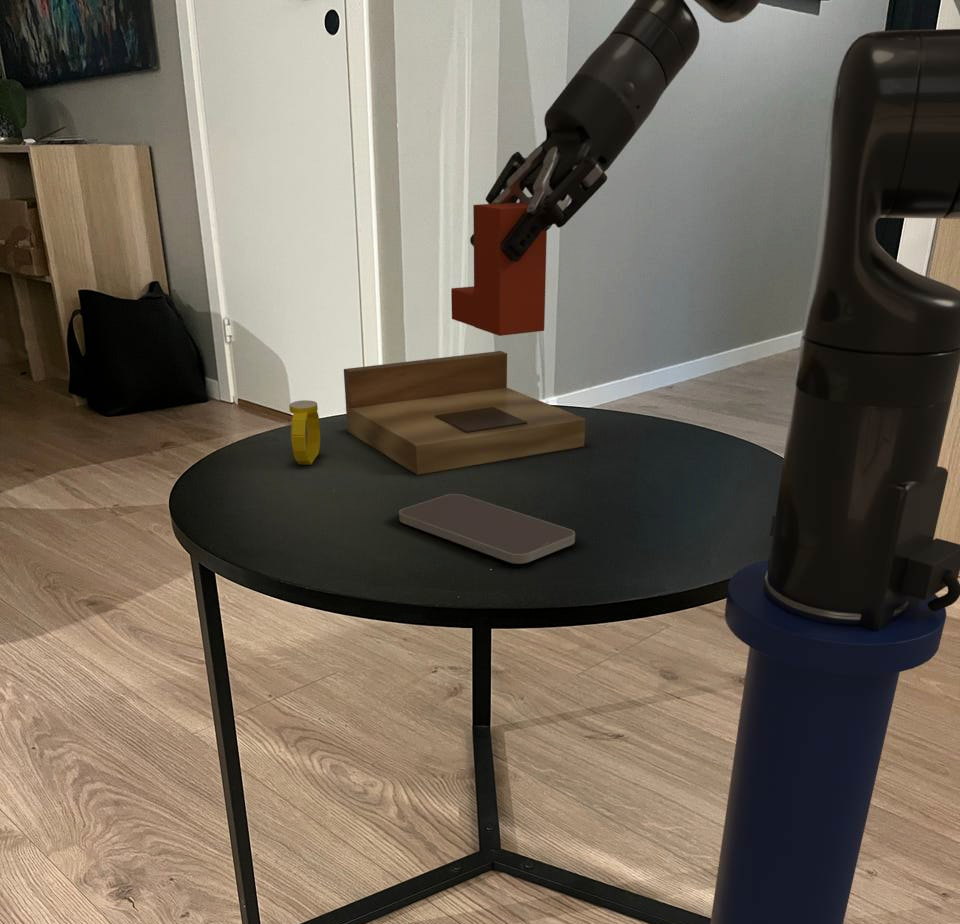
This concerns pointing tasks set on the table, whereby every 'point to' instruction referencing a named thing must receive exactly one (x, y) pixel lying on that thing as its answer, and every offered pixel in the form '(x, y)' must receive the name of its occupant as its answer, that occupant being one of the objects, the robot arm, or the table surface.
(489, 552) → the smartphone
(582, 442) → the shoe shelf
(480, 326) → the boot
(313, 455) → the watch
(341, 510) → the table surface
